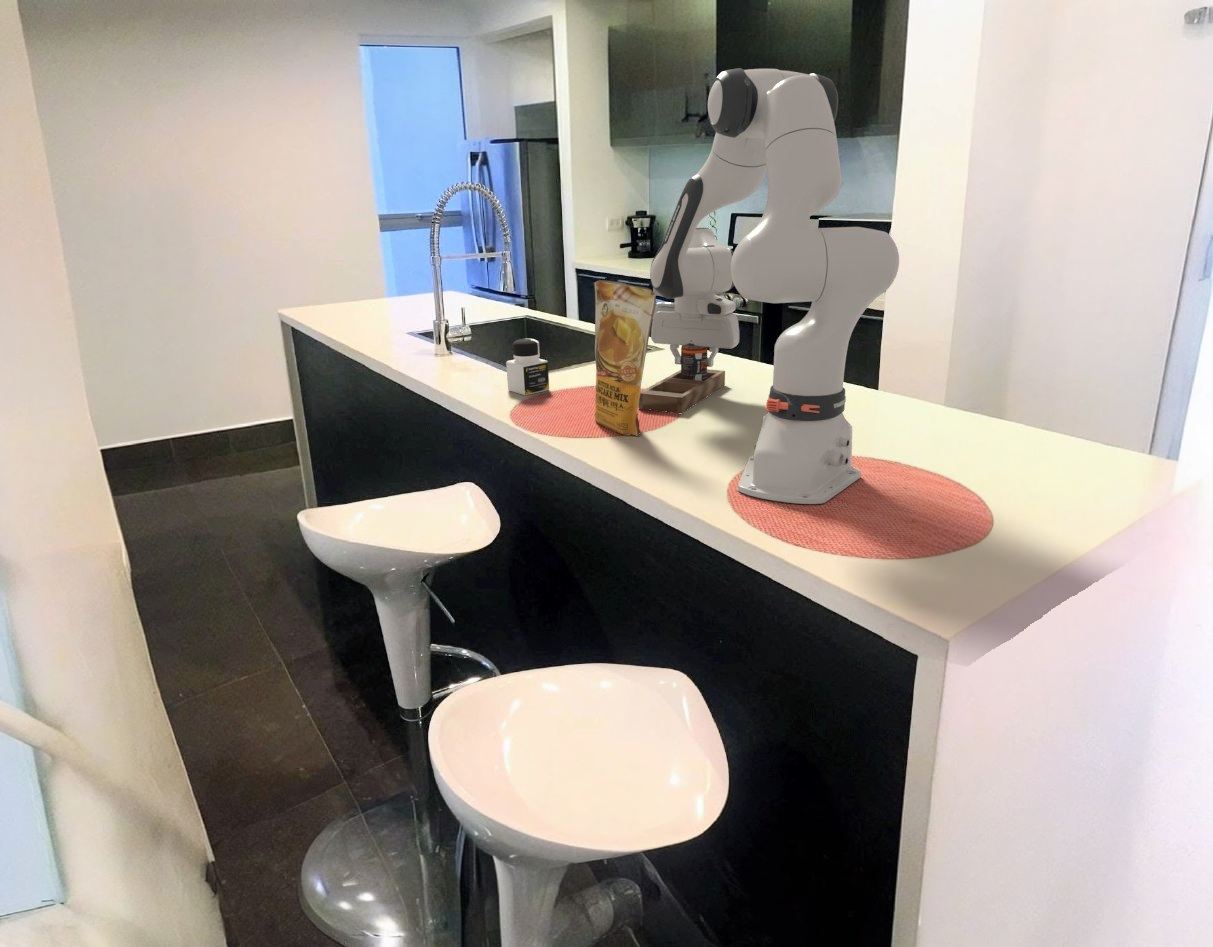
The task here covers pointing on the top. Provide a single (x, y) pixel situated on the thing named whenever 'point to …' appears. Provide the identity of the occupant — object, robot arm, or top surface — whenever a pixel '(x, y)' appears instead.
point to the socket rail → (680, 392)
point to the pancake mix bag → (620, 352)
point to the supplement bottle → (693, 362)
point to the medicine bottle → (527, 368)
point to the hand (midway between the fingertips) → (694, 365)
